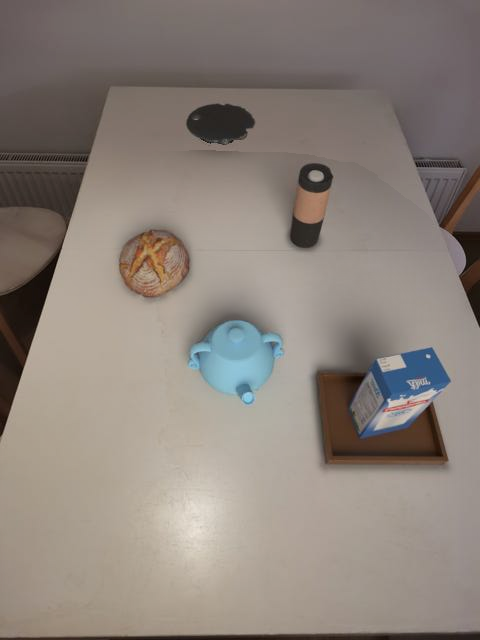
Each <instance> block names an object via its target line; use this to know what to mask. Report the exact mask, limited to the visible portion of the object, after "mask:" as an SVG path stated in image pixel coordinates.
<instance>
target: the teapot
mask: <svg viewBox="0 0 480 640" xmlns="http://www.w3.org/2000/svg"><path fill="white" fill-rule="evenodd" d="M271 342H275V343H274V344H273V346H272V343H271ZM282 346H283V338H282V336H281V334H279V333H277V332H265V333H264V331H263V330H261V329H260V328H259V326H256V325H255V324H253V323H251V322H248V321H246V320H242V319H233V320H232V319H231V320H227V321H224V322H222V323H219V324H218V325H216V326H215V327H214V328H212V329H211V330H210V331H209V332H208V333H207V334H206V335H205V337H204V339H203V340H202V341H201V342H200V341H199V342H196V343H194V344H192V345H191V346H190V348H189V356H190V358H189V359H188V360H187V367H188V369H190V370H194V371H197V370H199V372H200V375H201V377H202V378H203V380H204V381H205V382H206V383H207V384H208V385H209V387H211V388H212V389H214V390H216V391H218V392H220V393H222V394H226V395H231V396H238V398H239V399H240V401H241V402H242V404H243V405H245V406H248V407H249V406H252V405H254V404H255V402H256V395H255V394H254V392H255V391H257V390H258V389H260V388H262V387H263V386H264V385H266V383H267V382H268V381H269V379H270V377H271V376H272V374H273V370H274V367H275V360H278V359H281V358H283V357H284V355H285V349H284V348H282ZM197 353H198V355H197Z"/></svg>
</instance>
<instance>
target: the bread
mask: <svg viewBox="0 0 480 640" xmlns="http://www.w3.org/2000/svg"><path fill="white" fill-rule="evenodd" d="M118 267H119V273H120V276H121V278H122V280H123V282H124V284H125V286H126V287H127V288H128V289H130V291H132V292H134V293H136V294H138V295H141V296H142V297H144V298H157V297H160V296H162V295H166V294H167V293H169V292H170V291H172V290H173V289H175V287H177V286H179V284H181V283H182V282H183V281H184V279H186V277H187V275H188V273H189V272H190V257H189V253H188V250H187V248H186V247H185V245H184V244H183V241H182V240H181V239H180V237H178V236H177V235H176V234H174V233H172V232H171V231H169V230H165V229H149V231H148V232H147V231H144V232H142V233H139V234H137V235H135V236H134V237H132V238H131V239H129V240H128V241H127V242H126V243H124V245H123V246H122V248H121V250H120V253H119V258H118Z"/></svg>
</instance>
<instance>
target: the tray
mask: <svg viewBox="0 0 480 640" xmlns="http://www.w3.org/2000/svg"><path fill="white" fill-rule="evenodd" d="M367 373H368V372H336V371H335V372H334V371H333V372H331V371H329V372H328V371H327V372H325V371H324V372H323V371H318V373H317V376H316V385H317V395H318V405H319V414H320V422H321V432H322V441H323V450H324V458H325V465H332V466H333V465H337V466H338V465H339V466H341V465H344V466H345V465H346V466H347V465H349V466H351V465H352V466H353V465H355V466H356V465H358V466H359V465H363V466H365V465H366V466H368V465H369V466H377V465H378V466H445V464H447V463H449V457H448V453H447V449H446V445H445V442H444V438H443V435H442V431H441V427H440V423H439V419H438V417H437V412H436V408H435V404H434V400H433V401H432V402H431V403H430V404H429V405H428V406H427V407H426V408H425V410H424V411H423V412H422V413H421V414H420V415H419V416H418V417H417V418H416V419H415V420H414V421H413V422H412V423H411V424H410V425H409V427H408V428H404V429H400V430H395V431H391V432H387V433H383V434H378V435H374V436H370V437H365V438H361V439H359V436H358V434H357V431H356V429H355V426H354V424H353V421H352V419H351V416H350V414H349V411H348V407H349V405H350V403H351V401H352V400H353V398H354V396H355V394H356V393H357V391H358V389H359V387H360V385H361V384H362V382H363V380H364V378H365V377H366V375H367Z"/></svg>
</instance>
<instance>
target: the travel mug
mask: <svg viewBox="0 0 480 640" xmlns="http://www.w3.org/2000/svg"><path fill="white" fill-rule="evenodd" d="M333 179H334V174H333V173H332V171H331V168H330V167H329V166H328V165H327V164H323V163H319V162H310V163H307V164H304V165H303V166H302V167H300V170H299V174H298V179H297V186H296V193H295V196H294V197H295V198H294V204H293V209H292V210H293V211H292V219H291V226H290V227H291V228H290V241H291V243H292V244H293V245H295V246H296V247H298V248H301V249H310V248H313V247H314V246H316V244H317V243H318V241H319V238H320V234H321V231H322V226H323V223H324V219H325V216H326V212H327V207H328V203H329V198H330V193H331V189H332V184H333Z"/></svg>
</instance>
